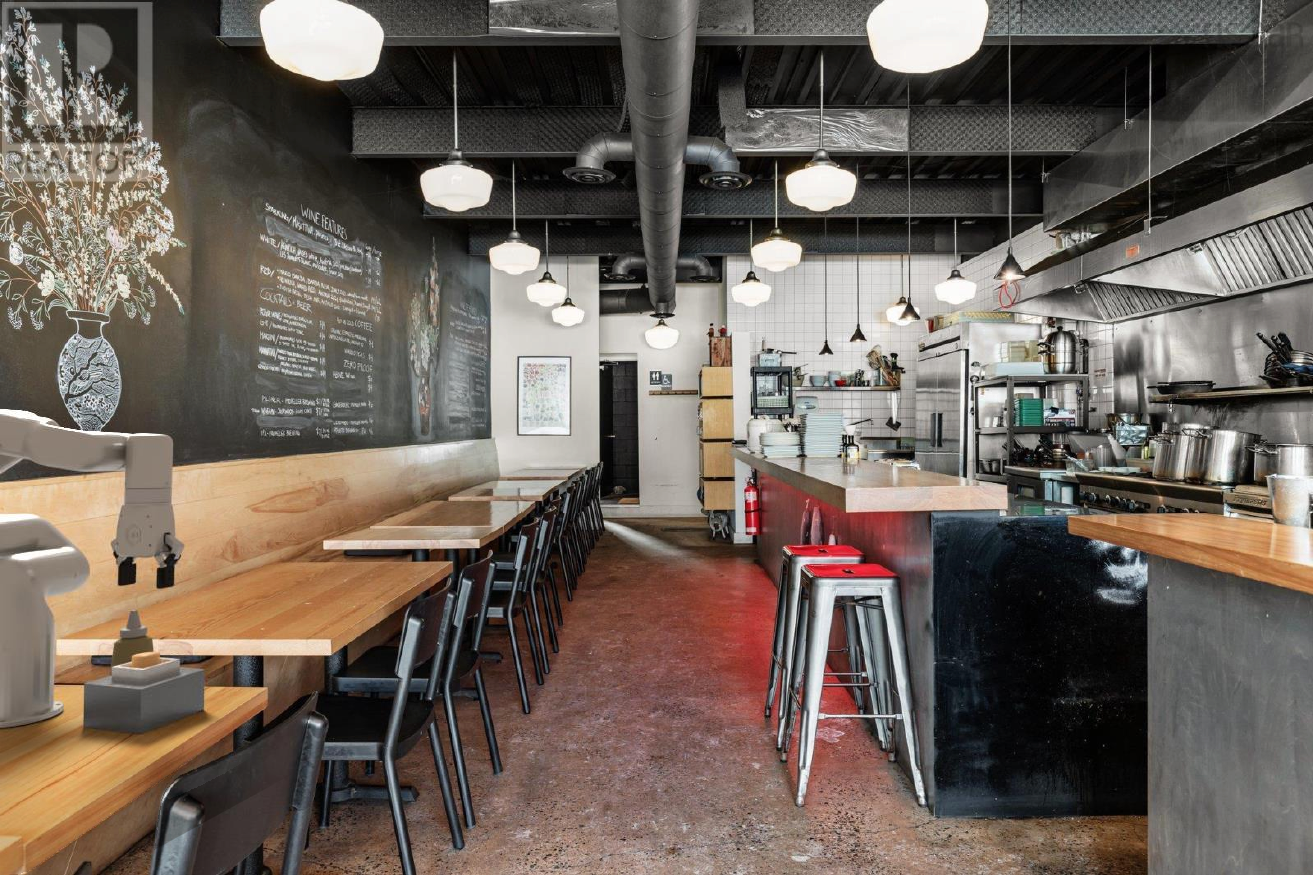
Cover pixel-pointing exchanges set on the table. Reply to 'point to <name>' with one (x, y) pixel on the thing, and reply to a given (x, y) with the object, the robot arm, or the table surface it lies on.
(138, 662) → the orange cylinder
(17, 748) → the table surface
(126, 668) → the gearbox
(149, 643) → the squeeze bottle
